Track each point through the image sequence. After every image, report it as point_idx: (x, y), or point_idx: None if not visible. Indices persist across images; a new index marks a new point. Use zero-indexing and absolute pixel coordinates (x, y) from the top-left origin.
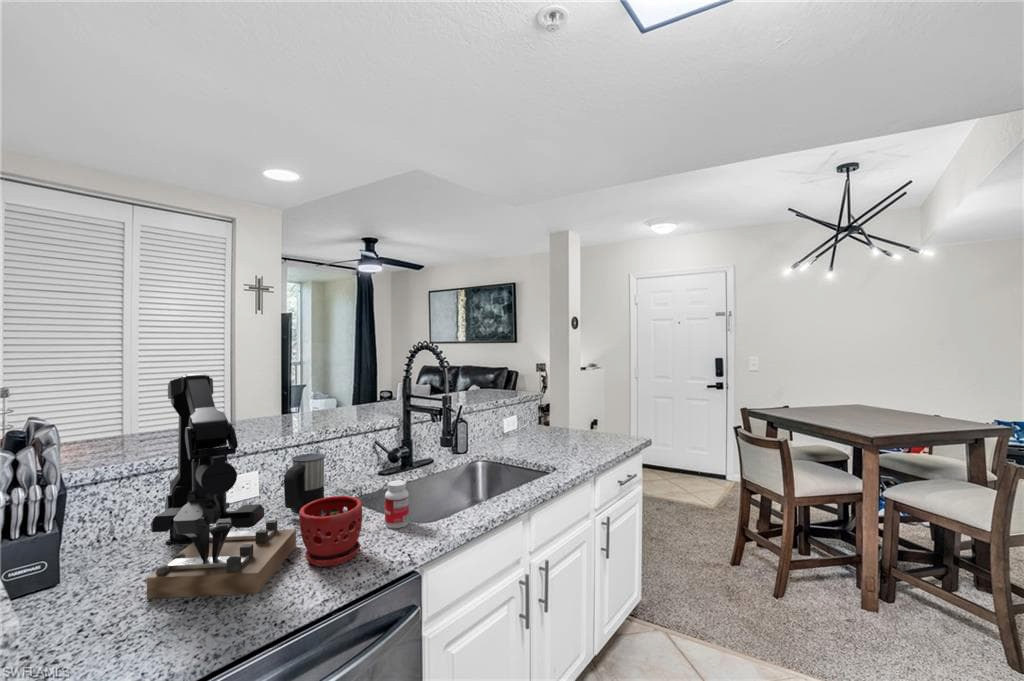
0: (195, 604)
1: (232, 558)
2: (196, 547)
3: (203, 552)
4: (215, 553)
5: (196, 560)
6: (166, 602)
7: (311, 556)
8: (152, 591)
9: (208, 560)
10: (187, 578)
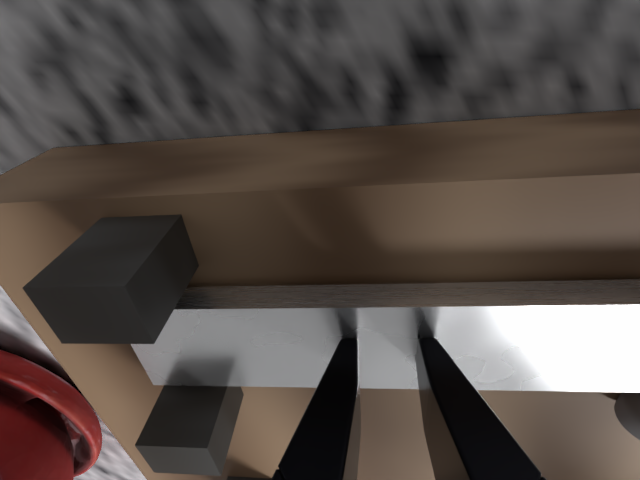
0: (347, 20)
1: (95, 310)
2: (538, 471)
3: (441, 407)
4: (323, 391)
5: (502, 358)
6: (570, 53)
7: (13, 390)
8: None
9: (402, 351)
10: (487, 171)
